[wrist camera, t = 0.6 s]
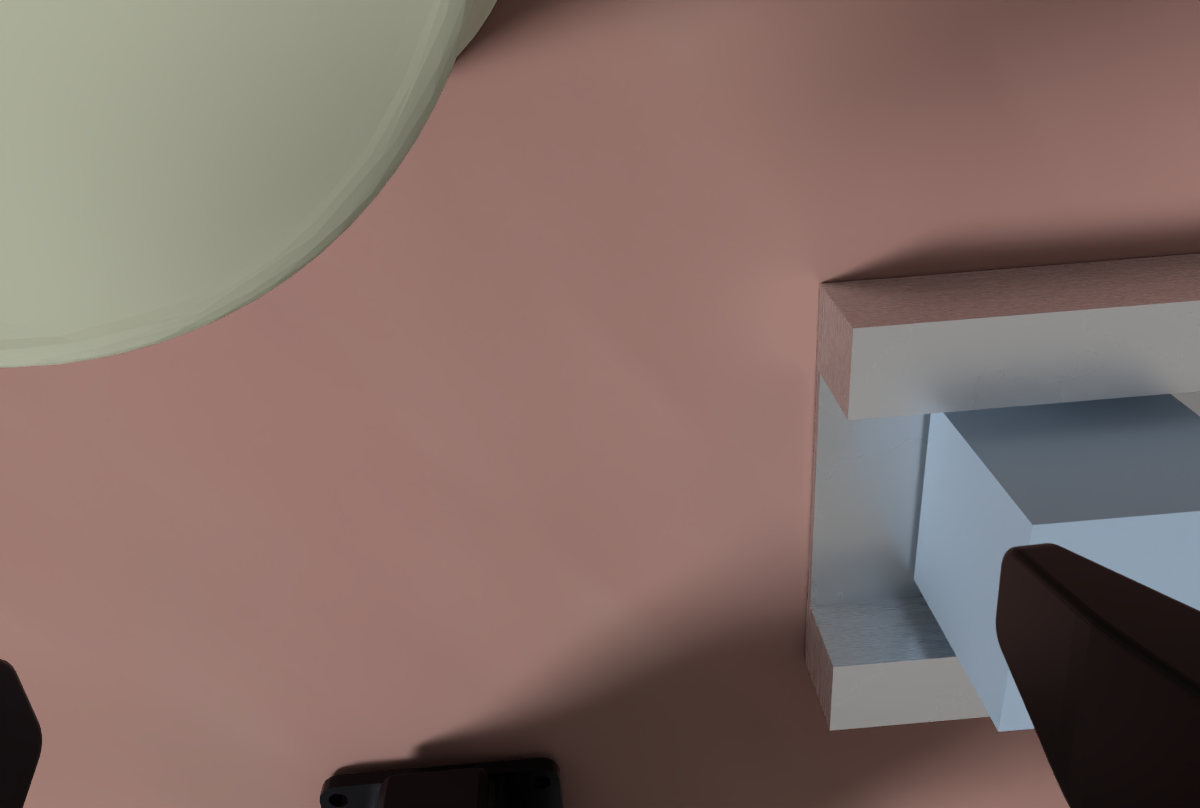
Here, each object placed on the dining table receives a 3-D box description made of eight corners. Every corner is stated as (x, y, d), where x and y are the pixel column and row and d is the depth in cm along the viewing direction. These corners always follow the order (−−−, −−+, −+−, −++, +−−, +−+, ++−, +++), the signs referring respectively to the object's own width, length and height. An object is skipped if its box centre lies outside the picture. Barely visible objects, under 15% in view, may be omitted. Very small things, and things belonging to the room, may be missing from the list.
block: (913, 578, 24) (998, 731, 19) (932, 399, 22) (1032, 525, 17) (1113, 561, 24) (1243, 710, 20) (1153, 380, 22) (1309, 501, 17)
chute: (804, 659, 26) (829, 730, 23) (820, 283, 21) (853, 328, 19) (1215, 623, 26) (1279, 690, 24) (1324, 243, 21) (1417, 283, 19)
